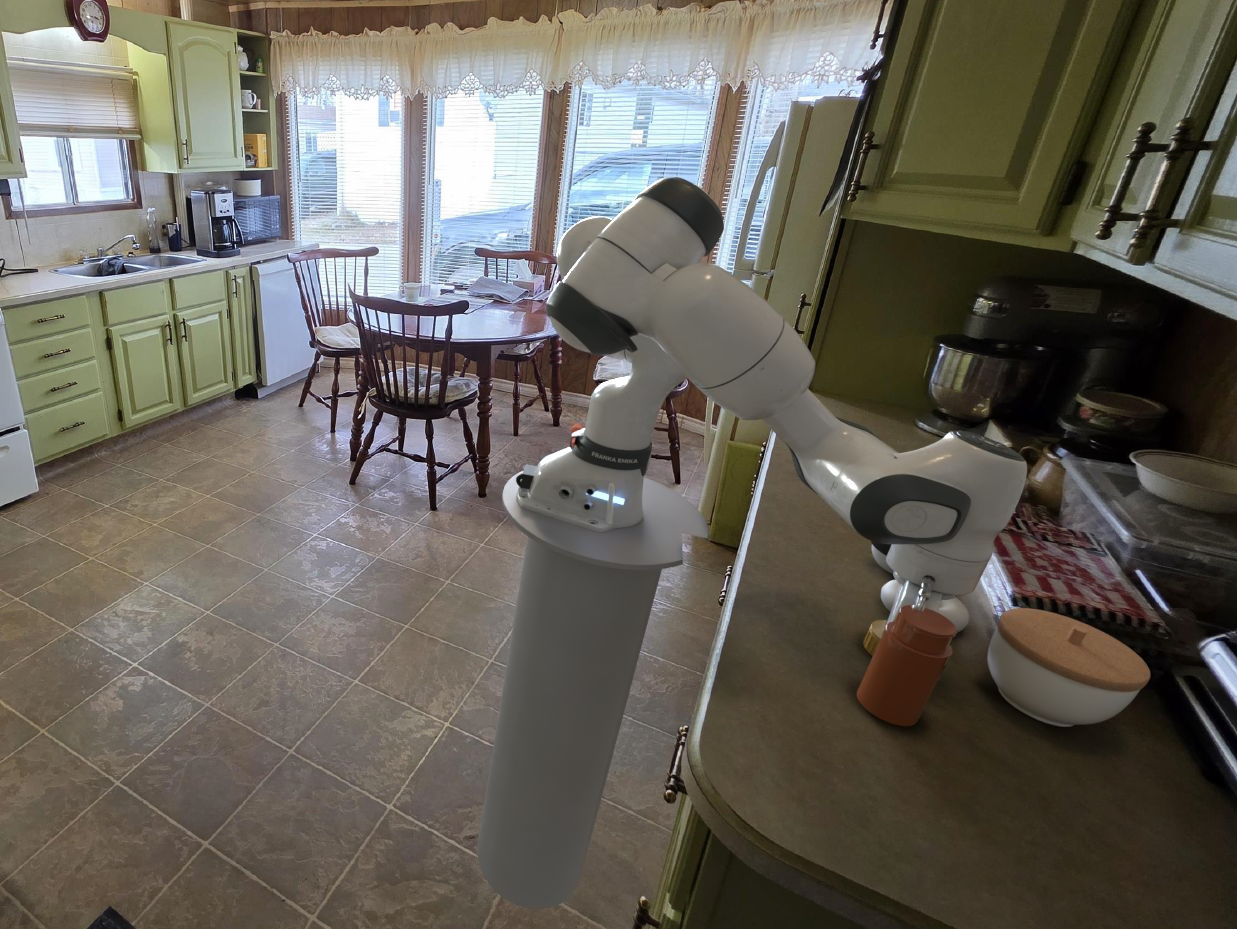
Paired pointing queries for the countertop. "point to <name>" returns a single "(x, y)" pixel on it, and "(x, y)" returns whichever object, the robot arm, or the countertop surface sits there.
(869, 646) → the lid
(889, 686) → the jar
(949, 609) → the donut
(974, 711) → the countertop surface
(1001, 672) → the lidded bowl
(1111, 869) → the countertop surface
